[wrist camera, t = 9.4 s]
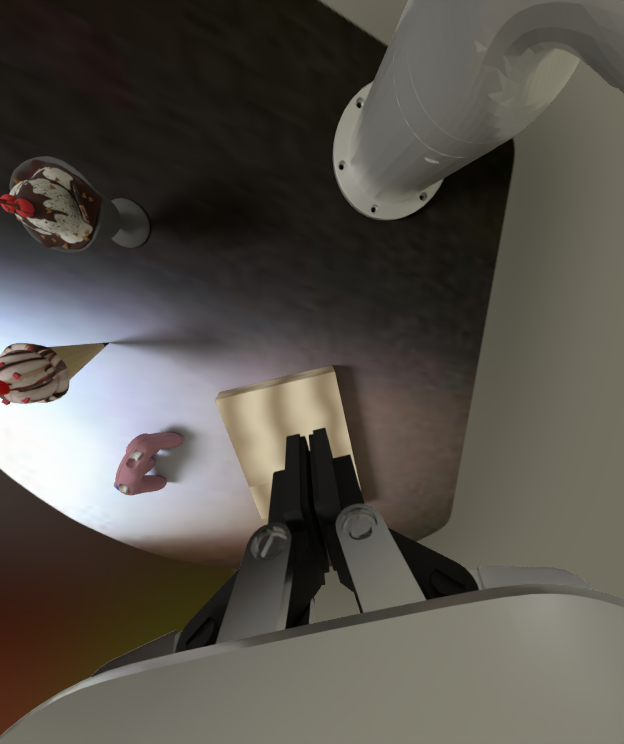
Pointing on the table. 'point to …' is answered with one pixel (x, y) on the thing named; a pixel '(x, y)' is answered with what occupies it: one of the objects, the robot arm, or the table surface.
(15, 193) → the sundae
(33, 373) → the ice cream cone
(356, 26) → the table surface
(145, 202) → the table surface
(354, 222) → the table surface
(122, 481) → the video game controller
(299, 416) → the hole board
